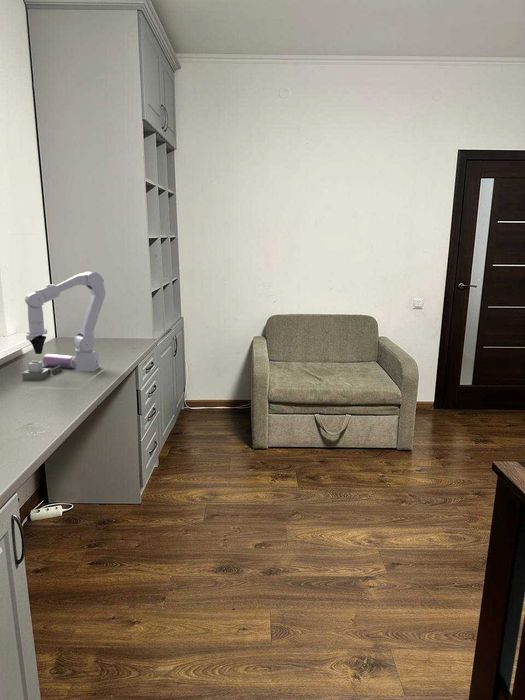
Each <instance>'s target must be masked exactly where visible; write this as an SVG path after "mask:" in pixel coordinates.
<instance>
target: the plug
mask: <svg viewBox="0 0 525 700" xmlns="http://www.w3.org/2000/svg"><path fill="white" fill-rule="evenodd" d="M43 366H44V365H43V362H42V360H41V361H39V360H31V362H28V363H27V367H28V368H27V370H29V372H38V373H40V372H42V371H43Z"/></svg>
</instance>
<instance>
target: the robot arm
mask: <svg viewBox="0 0 525 700" xmlns="http://www.w3.org/2000/svg"><path fill="white" fill-rule="evenodd" d="M78 285H79V286H86V287H87V288H88V290H89V291H90V293H91V294H92V295H91V297H90V301H89V303H88V307H87V310H86V313H85V315H84V318H83V321H82V322H83V323H82V325H81V327H80V329H79V330H78V331H77V334H76V335H75V336H74V337H73V338H72V339H73V340H72V343H73V345H74V347H75V349H74V356H75V357H76V368H74V369H73V372H74V371H75V372H95V371H96V370H97V369H99V368H100V358H99V352H98V351H97V350H93V348H94V346H95V344H94V339H95V333H94V331H95V328H96V324H97V322H98V318H99V315H100V312H101V309H102V307H103V303H104V300H105V296H106V290H105V284H104V278H103V276H101V274H100V273H98V272H93V271H89V270H86V271H84V272H80V273H78V274H76V275H74V276H72V277H70V278H68V279H66V280H64V281H62V282H60V283H58V284H57V285H56V284H54V283H52V284H50V283H47V284H46V285H45V287H43V288H40V289H36V290H35V291H34V292H29V293H27V295H26V296H25V298H24V302H25V304H26V306H27V321H28V329H29V331H27V332H26V334H27V335H25V336H26V341H29V343H30V344H31V346H32V347H33V348H32V349H33V350H34V353H35V354H36V355H41V354H43V350H44V344H45V341H46V339H47V336H46V335H47V334H48V328H45V322H44V320H45V319H44V311H43V305H44V304H45V303H48V302H50V301H52V300H54V299H56V298H58V297H60V295H61V293H63V292H64V291H66V290H69V289H72V288H73V287H76V286H78Z"/></svg>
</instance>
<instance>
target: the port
mask: <svg viewBox="0 0 525 700" xmlns="http://www.w3.org/2000/svg"><path fill="white" fill-rule="evenodd" d="M50 370H51V367H48V368H43V371H42V372H40V373H38V372H29V370H28V369H27V370H25V371H23V372H22V373H21V377H22V380H23V381H24V380H26V381H43V380H45V379H47V378H48V377H50V376H52V375H51V373H50Z"/></svg>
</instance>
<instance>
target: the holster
mask: <svg viewBox="0 0 525 700" xmlns="http://www.w3.org/2000/svg"><path fill="white" fill-rule="evenodd" d="M42 366H43V368H49V367H48V365H45V366H44V365H42ZM61 371H62V368H61V365H59V366H57V367H52V369H50V373H51V375H50V376H54V375H57V374H58V373H60V372H61Z"/></svg>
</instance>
